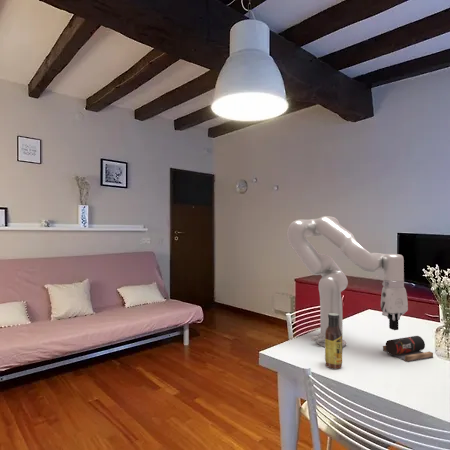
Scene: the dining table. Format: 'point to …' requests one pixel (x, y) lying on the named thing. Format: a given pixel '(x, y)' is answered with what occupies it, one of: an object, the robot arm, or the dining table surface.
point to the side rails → (415, 356)
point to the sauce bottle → (333, 342)
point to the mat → (402, 356)
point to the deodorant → (405, 345)
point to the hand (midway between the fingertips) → (393, 329)
